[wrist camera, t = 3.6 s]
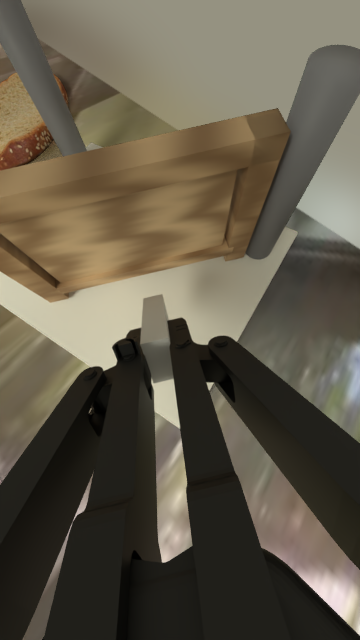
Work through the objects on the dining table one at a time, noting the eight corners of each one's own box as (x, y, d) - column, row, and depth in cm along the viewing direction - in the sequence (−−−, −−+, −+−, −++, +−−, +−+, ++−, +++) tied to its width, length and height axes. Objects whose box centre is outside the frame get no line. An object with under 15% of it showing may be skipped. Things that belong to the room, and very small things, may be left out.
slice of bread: (55, 75, 39) (41, 43, 36) (97, 137, 34) (85, 107, 30) (-47, 117, 37) (-72, 88, 34) (-19, 189, 32) (-45, 164, 29)
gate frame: (-32, 280, 27) (-441, 79, 10) (91, 149, 33) (-27, -133, 15) (186, 430, 21) (150, 628, 4) (293, 239, 27) (492, -62, 9)
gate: (237, 241, 25) (277, 108, 13) (243, 257, 24) (290, 131, 13) (49, 286, 25) (-83, 189, 13) (50, 302, 24) (-88, 217, 12)
